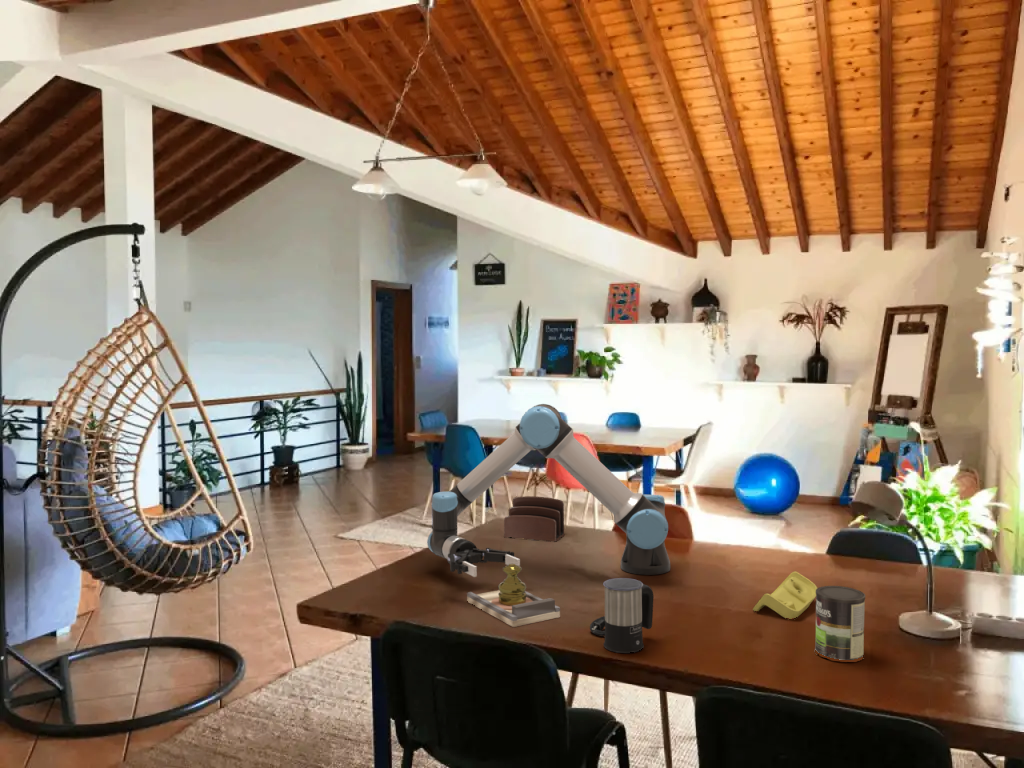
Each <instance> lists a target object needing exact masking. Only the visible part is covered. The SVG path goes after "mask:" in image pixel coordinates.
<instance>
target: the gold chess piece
mask: <svg viewBox="0 0 1024 768" xmlns="http://www.w3.org/2000/svg"><path fill="white" fill-rule="evenodd" d="M502 572H504V573H505V575H506V578H504V579H503V581H502V582H500V583H499V584H498V586H497V588H498V590H499V591H500V592H499V594H498V595H499V602H500V603H501V604H504V605H510V606H513V605H518V604H523V603H525V602H526V592H527V591H526V590H527V584H526V583H525V582H524V581H522V579H520V578H519V577H518V574H519V573H520V572H522V567H521V565H520V566H518V565H516V564H513V563H512V564H509V565H505V566H503V567H502ZM524 591H526V592H524Z"/></svg>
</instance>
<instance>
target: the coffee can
mask: <svg viewBox="0 0 1024 768" xmlns="http://www.w3.org/2000/svg"><path fill="white" fill-rule="evenodd" d="M865 600H866V594H865V593H864V592H863V591H860V590H859V589H856V588H853V587H848V586H842V585H824V586H820V587H817V589H816V597H815V639H814V640H815V642H814V643H815V646H814V651H815V650H816V651H817V652H818V653H820V654H822V655H824V656H827V657H830V658H834V659H839V660H854V659H858V658H861V657H863V655H864V653H865V651H864V646H865V643H864V642H865V639H864V638H865V637H864V636H865V606H866V604H865V603H866V602H865ZM864 656H865V655H864Z"/></svg>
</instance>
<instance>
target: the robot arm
mask: <svg viewBox="0 0 1024 768" xmlns="http://www.w3.org/2000/svg"><path fill="white" fill-rule="evenodd" d="M536 450H537V452H539V454H541V455H542V456H543V457H544V458H546V459H554V460H555V461H556V462H557V463H558V464H559V465H560V466H561V467H562V468H563V469H565V471H567V472H568V474H570V475H571V476H572V477H573V478H574V479H575V480H577V482H578V483H579V484H581V486H582V487H584V488H585V489H586V490H587V491H588V492H589V493H590V494H591V495H592V496H593V497H594V498H595V499H596V500H597V501H599V502H600V503H601V505H602V506H604V507H605V508H606V509H607V510H608V511H609V512H610V513H611V514H613V515H612V516H613V522H614V523H615V525H616V526H617V527H619V528H620V529H621V530H622V532H624V533H625V534H626V535H625V536H626V542H625V546H624V549H623V551H622V552H623V553H622V556H621V560H620V569H621V570H622V571H623V572H626V573H628V574H629V573H630V574H635V575H641V576H642V575H643V576H644V575H645V576H654V575H662V574H666V573H668V572H670V571H671V560H670V557H669V554H668V551H667V549H666V544H665V540H666V538H667V536H668V531H669V523H668V520H667V518H666V515H665V510H666V509H665V507H666V503H665V497H664V496H663V495H660V494H645V493H644V494H643V493H641V492H640V493H639V492H636V493H635V492H633V491H632V490H631V489H630V488H629V487H628V486H626V485H625V483H624V482H622V481H621V479H619V478H618V477H617V476H616V475H615V474H614V473H612V471H611V470H610V469H608V467H606V466H605V465H604V464H603V463H602V462H601V461H600V460H599V459H598V458H596V456H594V455H593V454H592V453H591V451H589V450H588V449H587V448H586V447H585V446H583V444H581V442H579V441H578V440H577V438H575V437H574V429H573V428H572V427H571V426H570V425H569V424H568V423H567V422H566V421H565V420H563V418H562V415H561V414H560V412H559V410H558V409H557V408H556V407H554V406H552V405H551V404H546V403H541V404H536V405H534V406H532V407H531V408H529V409H528V410H527V411H525V412H524V413H523V415H522V417H521V418H520V422H519V423H518V424H517V425H516V426H515V428H514V432H513V433H512V434H511V435H510V436H509V437H507V439H506V440H504V441H503V442H502V443H501V444H500V445H499V446H498V447H497V448H496V449H494V450H493V451H492V452H491V453H489V455H488V456H486V457H485V458H484V459H483V460H482V461H481V462H480V463H479V464H478V465H477V466H476V467H475V468H474V469H472V470H471V471H470V472H469V473H468V474H467V475H466V476H465V477H463V478H462V479H461V480H460V481H459V482H458V483H457V484H456V485H454V487H452V488H451V489H450V490H448V491H439V492H435V493H433V495H432V499H431V500H432V501H431V502H432V503H431V509H432V512H431V513H432V514H431V515H432V531H431V532H430V533H429V535H428V537H427V540H426V542H427V543H426V544H427V547H428V549H429V550H430V551H431V552H432V554H434V555H436V556H437V557H440V558H443V559H445V560H447V563H448V564H449V566H450V567H449V568H450V572H452V573H453V572H455V571H457V574H458V575H462V574H463V573H465V574H467V575H469V576H471V577H473V578H477V576H478V573H477V571H478V569H477V567H478V566H477V565H474V564H478V563H479V564H480V563H481V564H483V563H484V564H486V563H487V562H489V563H490V562H491V563H492V562H493V563H503V564H505V566H507V565H509V564H512V563H513V564H516V565H518V566H520V567H521V559H520V558H518V557H516V556H515V552H514V551H510V550H502V549H494V548H490V547H486V548H485V549H480V548H478V547H477V545H476V544H475V543H474V542H473V541H470V540H468V539H466V538H463V537H461V536H458V517H459V516H460V515H461V514H462V513H463V512H464V511H465V510H466V509H468V507H470V505H472V503H473V502H474V501H476V500H477V499H478V498H479V497H481V496H482V494H484V493H485V492H486V491H487V490H488V489H490V487H492V485H494V484H495V483H496V482H497V481H498V480H500V478H502V476H504V475H505V474H506V473H508V471H509V470H510V469H512V468H513V467H514V466H515V465H516V464H517V463H519V462H520V461H521V459H523V458H524V457H525V456H526V455H527V454H528V453H530V452H531V451H536Z"/></svg>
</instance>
